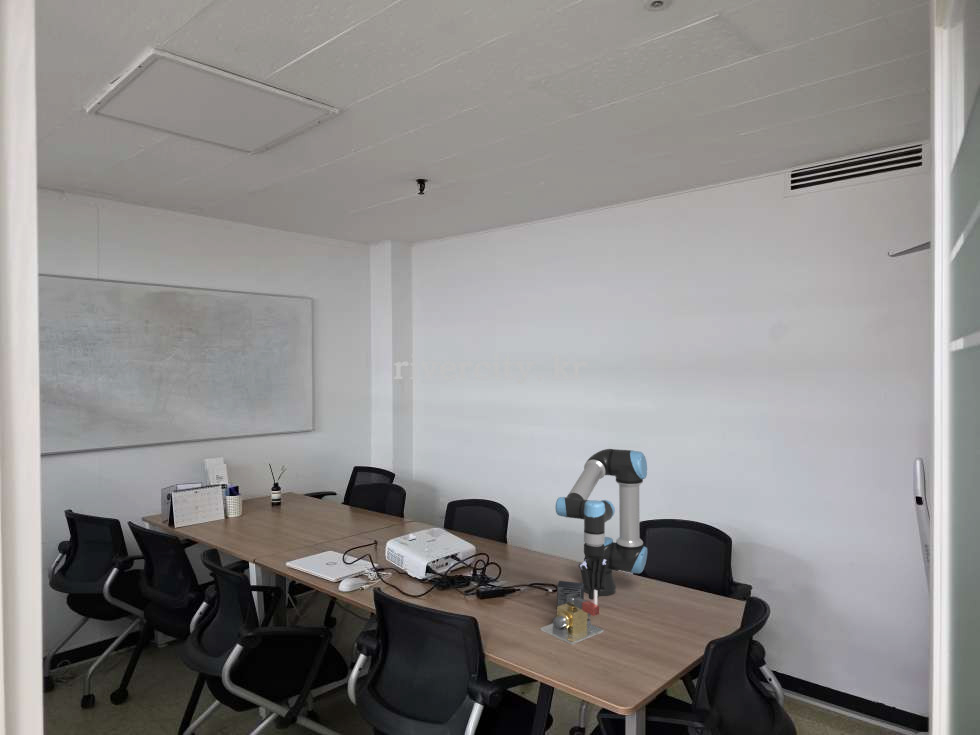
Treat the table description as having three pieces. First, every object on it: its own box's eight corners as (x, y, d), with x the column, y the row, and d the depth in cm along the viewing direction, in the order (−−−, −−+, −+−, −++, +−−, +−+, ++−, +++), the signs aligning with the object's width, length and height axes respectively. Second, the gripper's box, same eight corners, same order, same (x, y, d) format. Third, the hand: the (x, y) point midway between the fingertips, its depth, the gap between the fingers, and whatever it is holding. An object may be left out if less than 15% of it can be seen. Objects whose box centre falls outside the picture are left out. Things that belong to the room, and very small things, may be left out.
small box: (584, 607, 261) (584, 582, 261) (582, 613, 255) (582, 587, 255) (558, 604, 264) (559, 579, 264) (556, 610, 258) (556, 584, 258)
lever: (564, 603, 238) (564, 594, 238) (572, 600, 240) (573, 592, 240) (591, 616, 225) (592, 608, 225) (600, 614, 228) (600, 605, 228)
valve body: (571, 618, 249) (572, 593, 249) (603, 631, 237) (604, 605, 237) (540, 630, 238) (540, 603, 238) (571, 644, 225) (572, 617, 225)
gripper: (600, 538, 237) (600, 600, 237) (574, 543, 231) (573, 607, 231) (614, 543, 231) (613, 607, 231) (587, 548, 224) (586, 614, 224)
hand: (593, 607), depth 231 cm, fingers closed
